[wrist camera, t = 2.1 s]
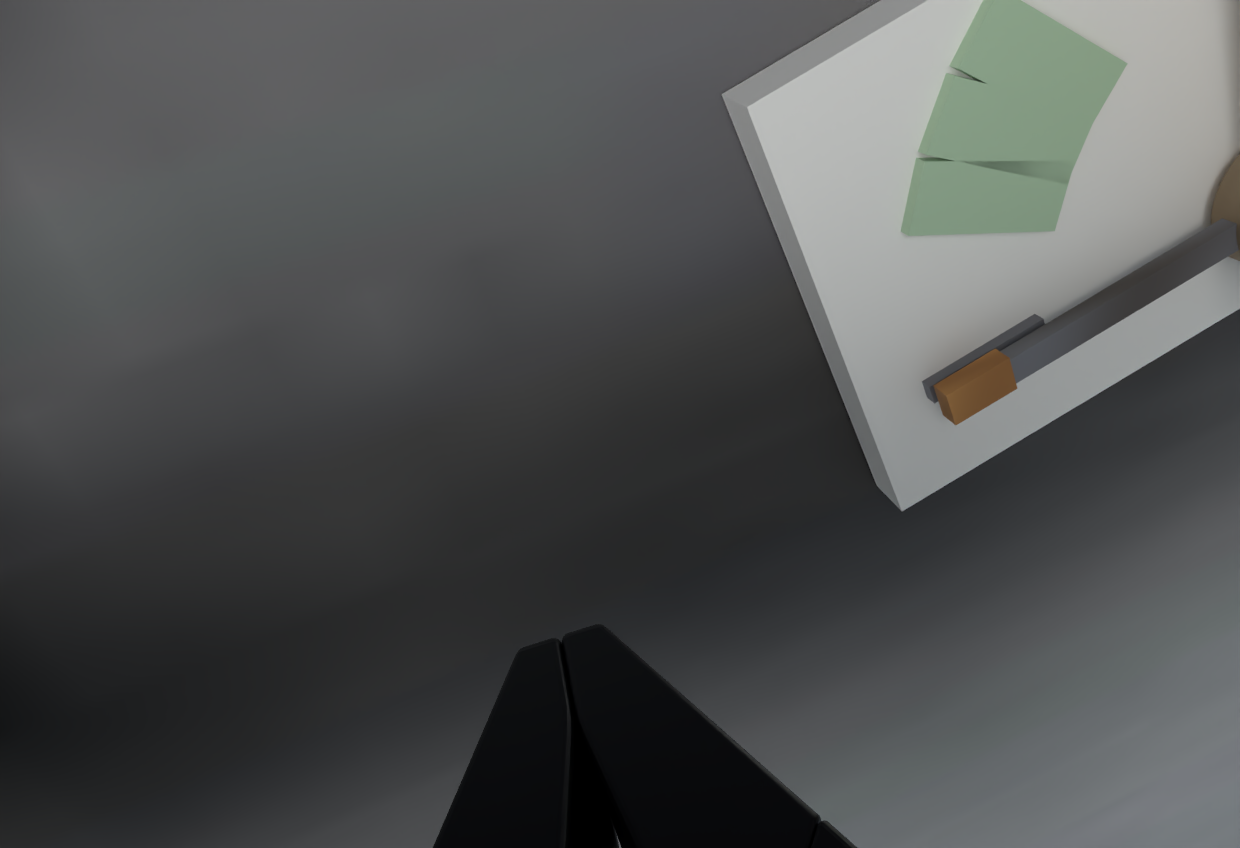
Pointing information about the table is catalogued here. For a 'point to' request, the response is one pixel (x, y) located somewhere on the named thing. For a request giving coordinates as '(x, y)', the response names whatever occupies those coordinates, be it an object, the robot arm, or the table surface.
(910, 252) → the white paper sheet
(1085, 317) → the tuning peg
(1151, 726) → the table surface
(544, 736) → the robot arm
